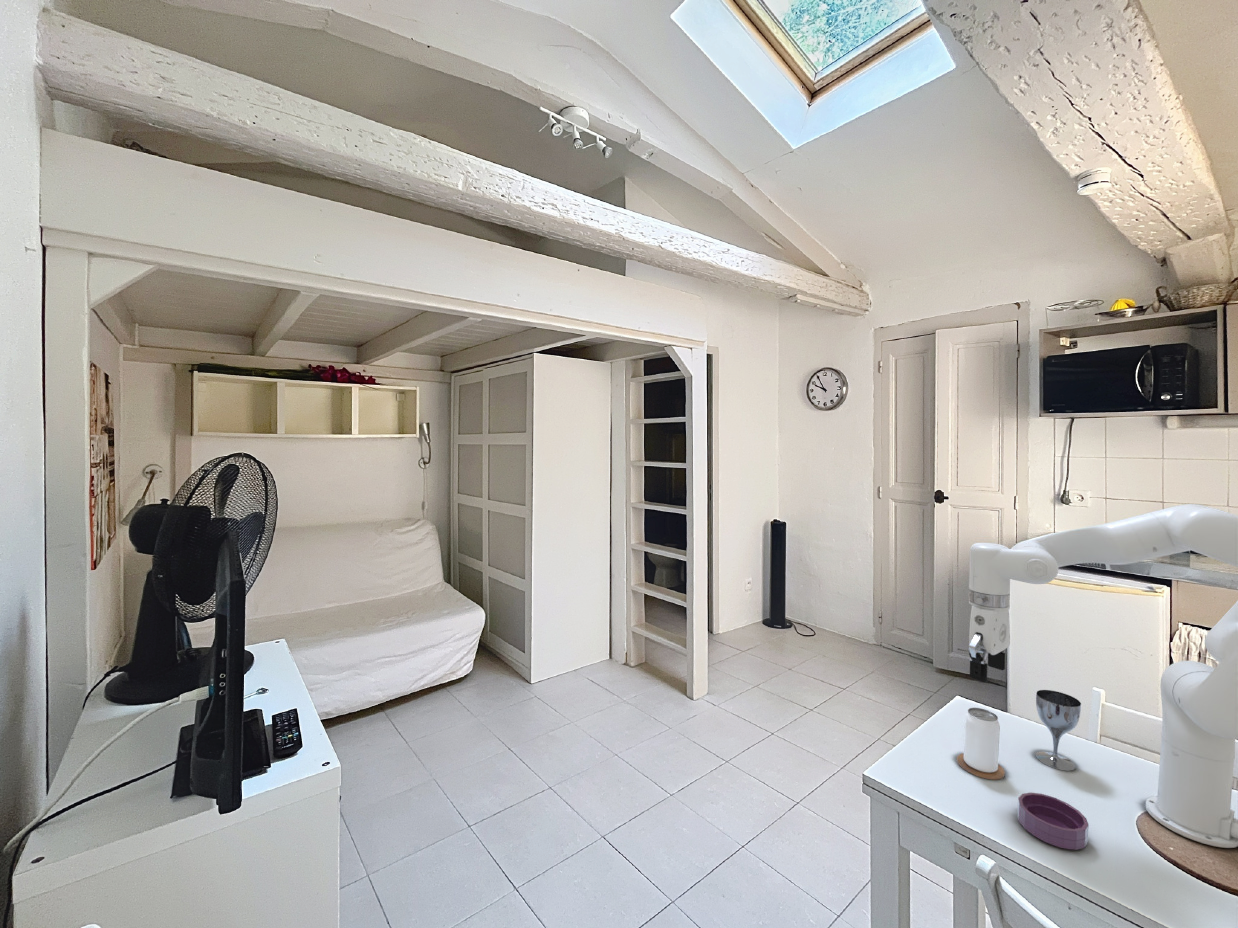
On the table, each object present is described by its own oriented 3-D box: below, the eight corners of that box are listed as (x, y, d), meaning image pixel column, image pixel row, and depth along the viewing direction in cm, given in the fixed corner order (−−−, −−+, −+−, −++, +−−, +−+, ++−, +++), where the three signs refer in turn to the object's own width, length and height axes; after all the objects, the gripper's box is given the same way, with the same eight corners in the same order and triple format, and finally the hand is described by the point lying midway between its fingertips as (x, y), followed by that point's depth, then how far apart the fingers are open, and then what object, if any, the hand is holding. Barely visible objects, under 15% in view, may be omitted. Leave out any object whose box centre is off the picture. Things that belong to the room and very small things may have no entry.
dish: (1094, 835, 99) (1095, 815, 99) (1077, 860, 93) (1078, 839, 93) (1028, 804, 107) (1029, 785, 107) (1009, 825, 101) (1010, 805, 101)
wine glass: (1073, 757, 123) (1077, 695, 122) (1080, 775, 116) (1084, 710, 116) (1031, 746, 127) (1034, 686, 127) (1035, 763, 121) (1038, 700, 120)
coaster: (1011, 769, 118) (1011, 768, 118) (995, 784, 113) (995, 783, 113) (966, 750, 126) (966, 748, 126) (949, 763, 121) (949, 761, 121)
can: (1003, 775, 116) (1006, 723, 115) (971, 771, 117) (973, 719, 116) (989, 758, 122) (991, 708, 121) (958, 754, 123) (960, 705, 123)
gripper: (992, 610, 109) (991, 690, 110) (1023, 595, 119) (1021, 669, 120) (953, 601, 115) (951, 677, 116) (985, 588, 125) (984, 658, 126)
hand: (987, 673), depth 118 cm, fingers open, 9 cm apart
